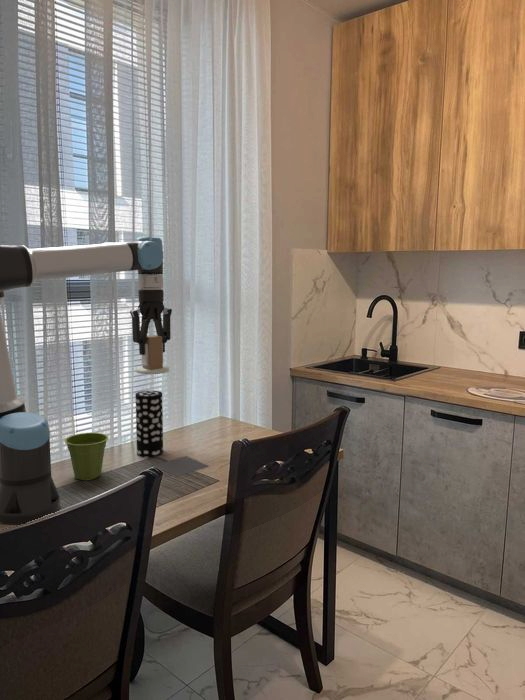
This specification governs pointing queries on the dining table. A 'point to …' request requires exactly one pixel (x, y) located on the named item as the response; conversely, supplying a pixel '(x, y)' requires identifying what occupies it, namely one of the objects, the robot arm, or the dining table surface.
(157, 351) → the wooden post on disc
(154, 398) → the white-spotted black cylinder
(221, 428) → the dining table surface
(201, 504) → the dining table surface
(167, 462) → the mat
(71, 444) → the plant pot
